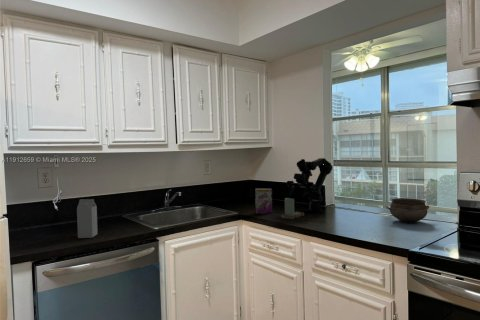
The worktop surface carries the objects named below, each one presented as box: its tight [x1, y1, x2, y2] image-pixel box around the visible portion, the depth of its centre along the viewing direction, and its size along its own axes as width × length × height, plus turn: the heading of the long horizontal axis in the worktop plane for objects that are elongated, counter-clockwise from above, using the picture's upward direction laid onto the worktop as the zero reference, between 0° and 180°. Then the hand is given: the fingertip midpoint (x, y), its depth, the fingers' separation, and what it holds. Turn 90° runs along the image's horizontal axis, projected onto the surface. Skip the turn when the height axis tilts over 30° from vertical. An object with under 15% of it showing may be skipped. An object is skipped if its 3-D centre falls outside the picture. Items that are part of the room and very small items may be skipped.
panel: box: [284, 197, 295, 216], centre depth 195 cm, size 2×6×12 cm, turn 48°
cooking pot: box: [386, 197, 430, 224], centre depth 181 cm, size 25×19×12 cm
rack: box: [281, 211, 305, 220], centre depth 198 cm, size 13×8×2 cm, turn 138°
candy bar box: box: [254, 188, 273, 215], centre depth 214 cm, size 11×5×16 cm, turn 84°
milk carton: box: [76, 198, 98, 239], centre depth 164 cm, size 7×7×19 cm
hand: (295, 195), depth 200 cm, fingers open, 9 cm apart
